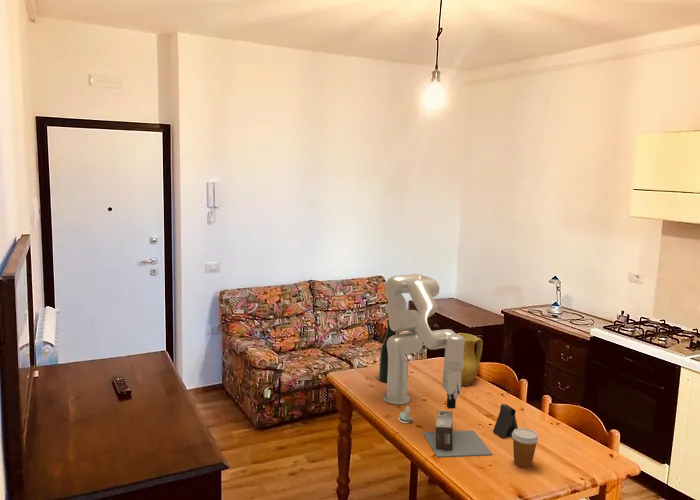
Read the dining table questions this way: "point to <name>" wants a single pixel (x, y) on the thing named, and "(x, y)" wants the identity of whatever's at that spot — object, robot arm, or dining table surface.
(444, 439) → the coffee box
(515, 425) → the phone stand
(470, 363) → the pitcher
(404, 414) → the pacifier
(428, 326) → the robot arm
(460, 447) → the mat
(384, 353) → the dark green bottle
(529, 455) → the disposable coffee cup
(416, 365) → the dining table surface
